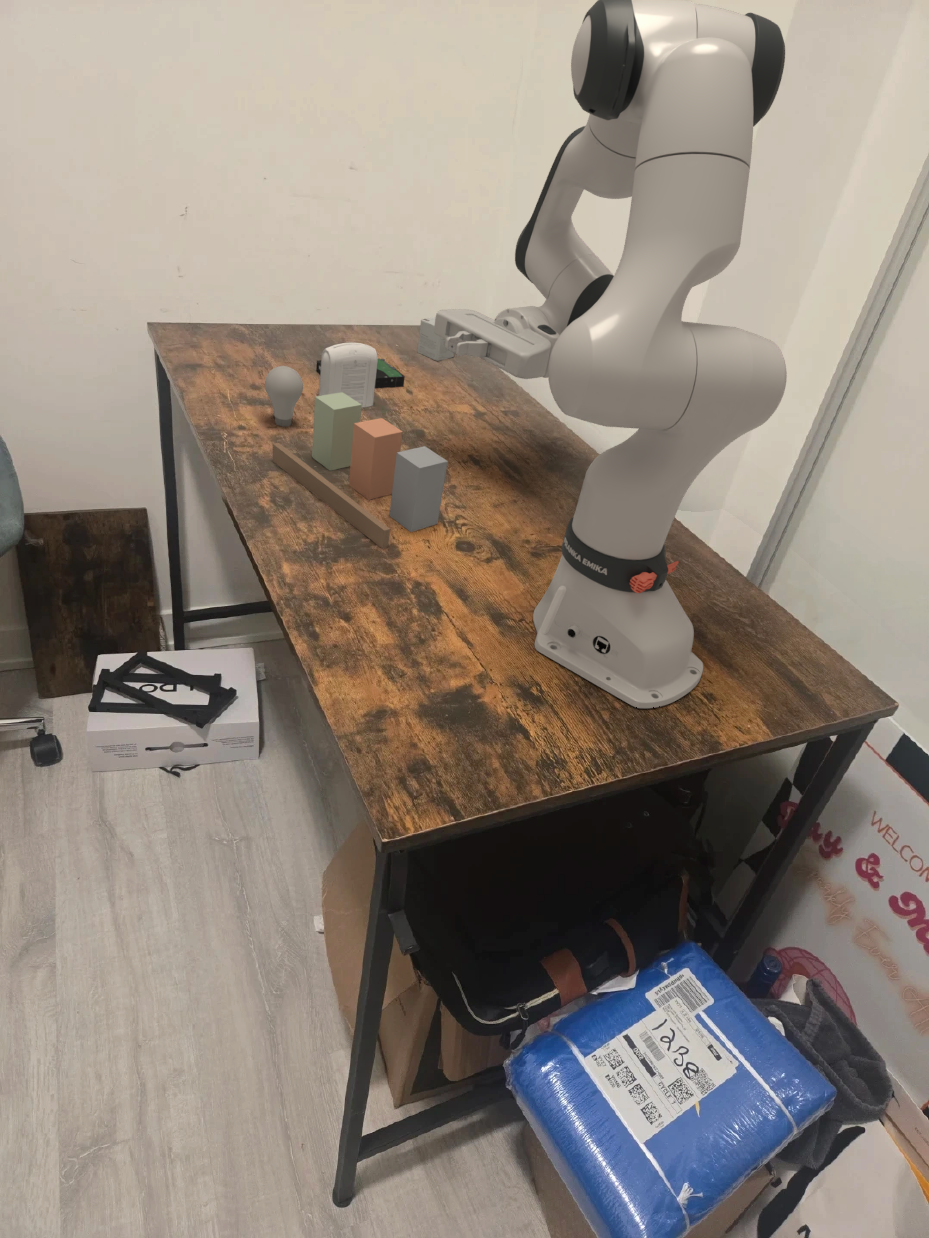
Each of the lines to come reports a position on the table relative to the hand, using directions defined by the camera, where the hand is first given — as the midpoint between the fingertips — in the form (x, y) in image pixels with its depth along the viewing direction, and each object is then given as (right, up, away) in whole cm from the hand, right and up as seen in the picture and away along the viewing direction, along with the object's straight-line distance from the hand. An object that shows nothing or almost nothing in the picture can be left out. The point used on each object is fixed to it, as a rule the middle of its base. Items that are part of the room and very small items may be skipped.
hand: (451, 346), depth 115 cm
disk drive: (-19, +8, +44) cm, 48 cm away
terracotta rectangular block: (-12, -20, +5) cm, 24 cm away
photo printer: (-20, -2, +30) cm, 36 cm away
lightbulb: (-29, -8, +19) cm, 35 cm away
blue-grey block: (-6, -25, 0) cm, 26 cm away
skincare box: (-5, +19, +62) cm, 65 cm away
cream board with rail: (-13, -21, +5) cm, 25 cm away
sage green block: (-19, -15, +10) cm, 26 cm away
